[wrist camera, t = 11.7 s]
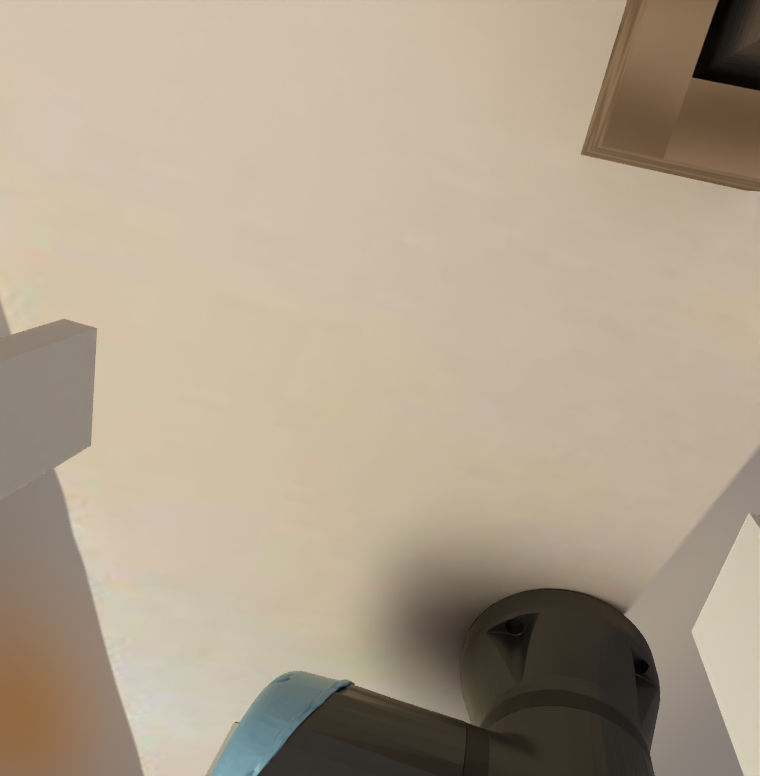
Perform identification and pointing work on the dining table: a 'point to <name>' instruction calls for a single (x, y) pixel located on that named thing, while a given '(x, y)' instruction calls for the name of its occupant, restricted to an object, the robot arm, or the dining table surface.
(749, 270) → the dining table surface
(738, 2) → the grey slab
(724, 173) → the wooden planter box
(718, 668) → the robot arm
